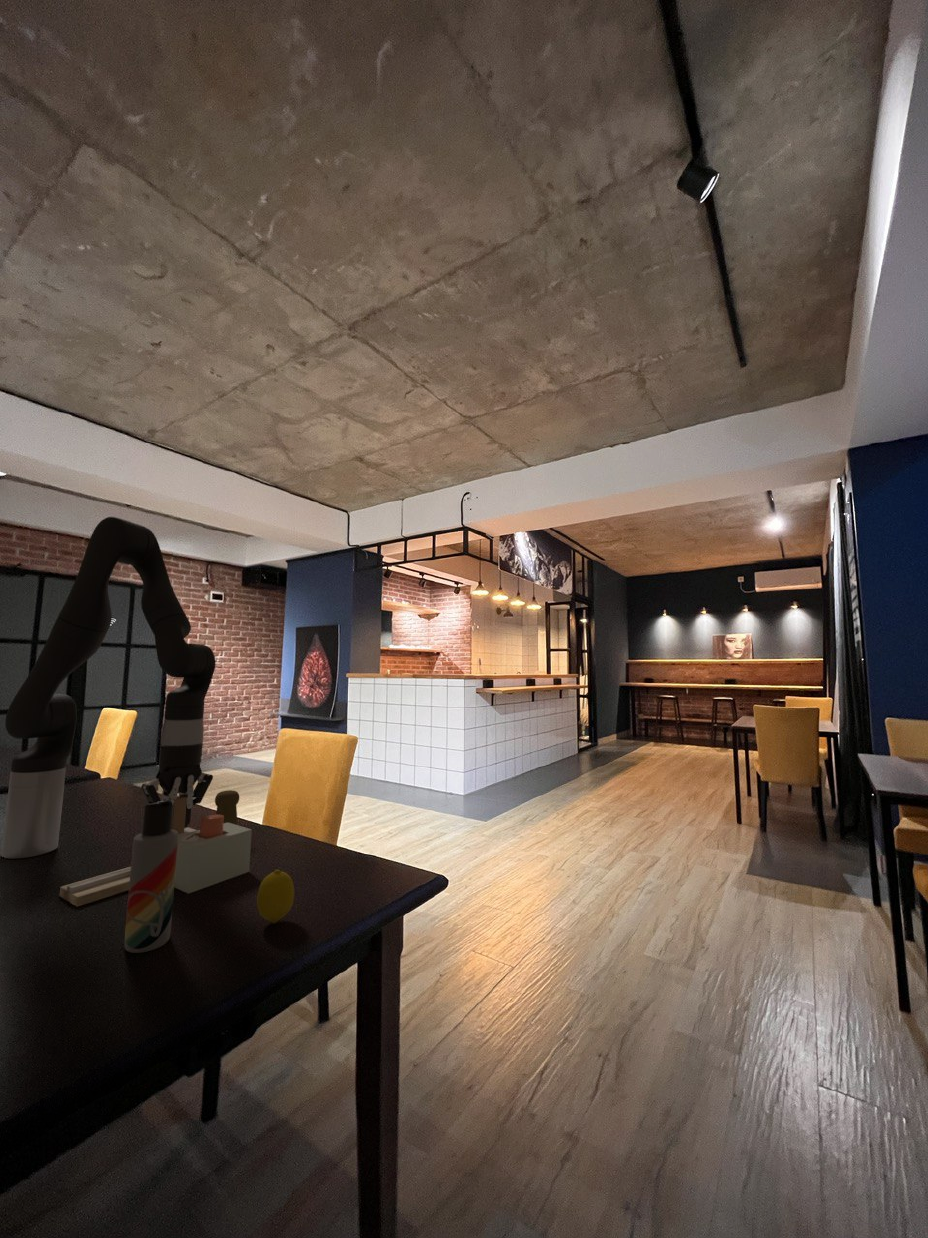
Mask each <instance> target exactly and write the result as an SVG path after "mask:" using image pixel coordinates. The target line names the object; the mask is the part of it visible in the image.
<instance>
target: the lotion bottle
mask: <svg viewBox="0 0 928 1238" xmlns="http://www.w3.org/2000/svg"><path fill="white" fill-rule="evenodd" d="M173 807H174V801H173V800H164V801H162V800H161V801H160V802H155V803H150V804H149V803H146V804H144V805H143V814H142V820H141V821H142V823H141V832H140V833H138V834H137V835H135V836H134V837H133V841H132V842H133V843H132V849H131V852H132V853H131V861H130V867H131V872H130V883H129V890H128V896H127V907H126V917H125V918H126V920H125V930H124V931H125V933H124V942H123V943H124V949H125V951H126V952H128V953H132V954H133V953H134V954H141V953H146V952H147V953H148V952H149V951H150V952H151V951H154V950H156V949H158V948H160V947H162V946H164V945H165V944H167V942H168V941H169V940H170V937H171V931H172V919H173V918H172V917H173V905H174V895H175V894H174V893H175V887H174V884H175V871H176V858H177V846H178V832H177V831H176V830H172V822H173Z"/></svg>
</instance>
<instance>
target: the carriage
mask: <svg viewBox="0 0 928 1238" xmlns="http://www.w3.org/2000/svg"><path fill="white" fill-rule="evenodd" d="M186 803H187V797H185V796H182V795H179V794H177V799H176V800H175V802H174V807H173V825H172V830H176V831H177V832H178V835H181V834H185V833H189V832H193V831H197V829H194V828H192V827H189V826H187V828H185V816H186Z"/></svg>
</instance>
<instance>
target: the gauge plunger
mask: <svg viewBox="0 0 928 1238" xmlns="http://www.w3.org/2000/svg"><path fill="white" fill-rule="evenodd" d="M223 822H224V816H223V815H216V814H209V815H204V816H202V817H201V818H200V825H199V828H200V829H199V830H200V837H202V838H205V839H209V838H212V837H216V836H220V835H223Z"/></svg>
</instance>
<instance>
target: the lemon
mask: <svg viewBox="0 0 928 1238" xmlns="http://www.w3.org/2000/svg"><path fill="white" fill-rule="evenodd" d="M294 899H295V887H294V882H293V879H292V878H291V876H290V875H289V874H288V873H287V872H284V871H281V870H280V869H275V870H274V871H273V872H271V873H268V874H267V875H266V876H265V877H264V878H263V879H262V881H261V883H260V884H259V888H258V892H257V895H256V907H257V911H258V913H259V915H260V917H262V918H263V919H264V920H266V921H269V922H271V923H272V924H276V923H278V922H279V920H281V919H283V918H284V917H286V915H287V914H288V913H289V912H290V910H291V909H292V906H293V905H294Z"/></svg>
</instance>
